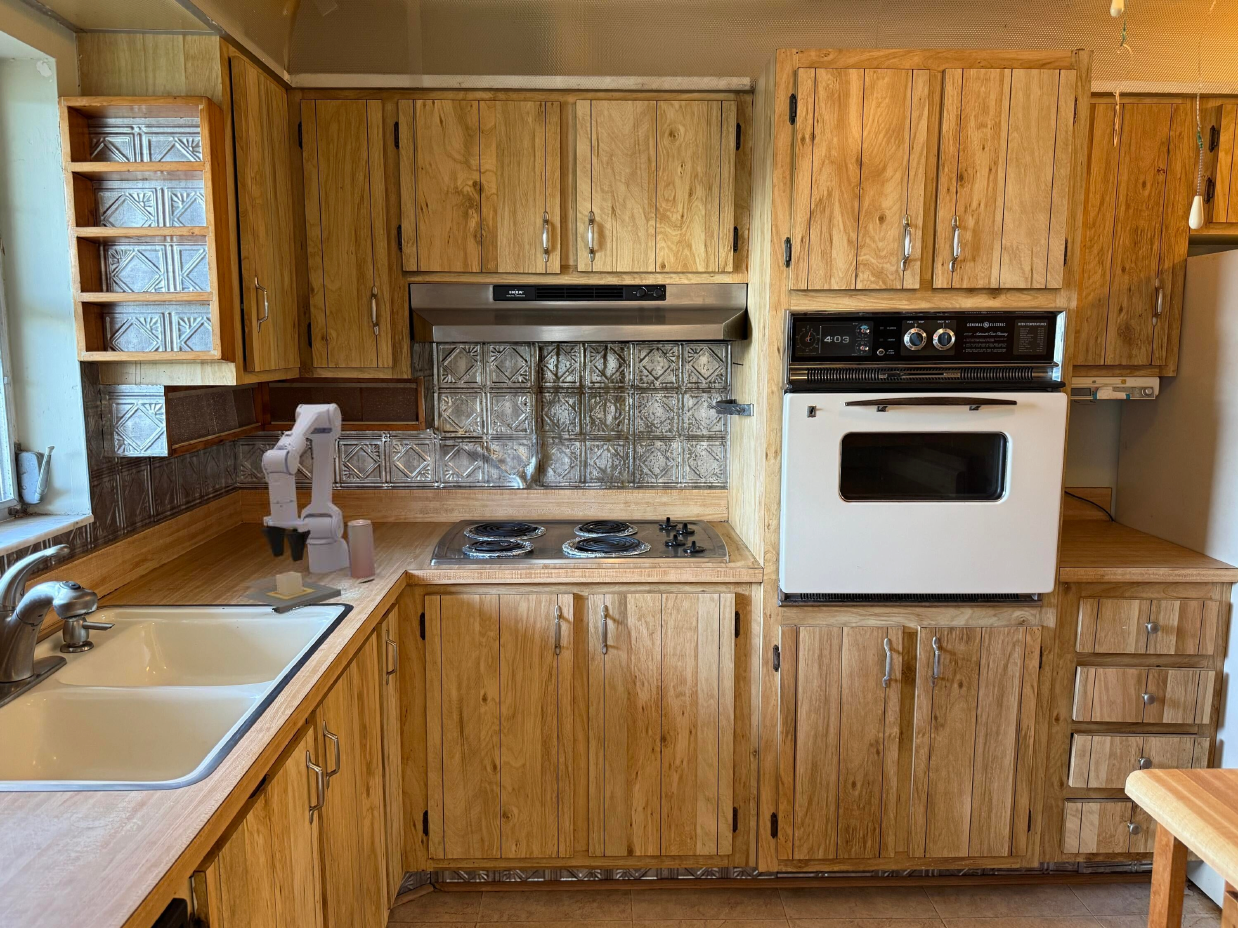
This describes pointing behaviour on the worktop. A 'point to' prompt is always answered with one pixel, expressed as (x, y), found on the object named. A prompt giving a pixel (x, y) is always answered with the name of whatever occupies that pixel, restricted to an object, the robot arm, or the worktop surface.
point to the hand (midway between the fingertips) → (288, 558)
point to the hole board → (295, 596)
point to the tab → (263, 583)
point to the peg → (289, 583)
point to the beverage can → (361, 549)
